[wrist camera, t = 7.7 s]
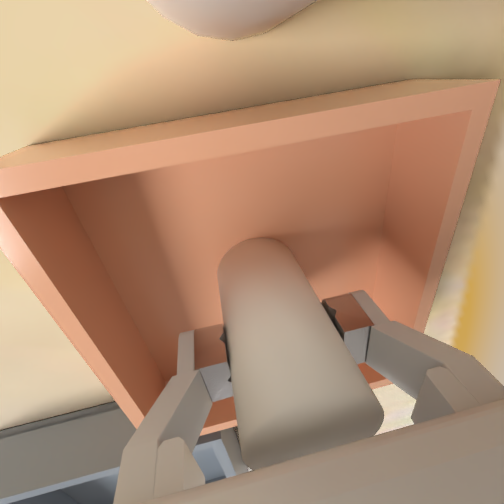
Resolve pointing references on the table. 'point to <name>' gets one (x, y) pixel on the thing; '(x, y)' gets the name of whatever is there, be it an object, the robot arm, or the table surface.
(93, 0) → the table surface
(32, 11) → the table surface
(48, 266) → the salmon open tray
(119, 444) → the grey-blue open tray
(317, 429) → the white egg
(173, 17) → the white double cylinder vase
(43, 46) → the table surface
